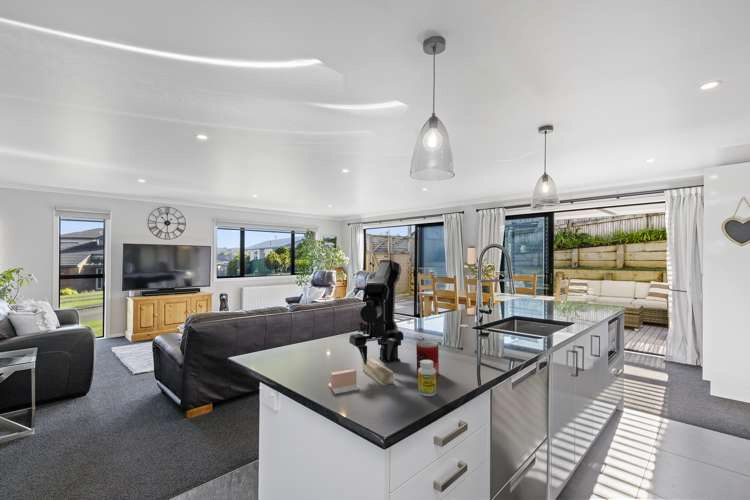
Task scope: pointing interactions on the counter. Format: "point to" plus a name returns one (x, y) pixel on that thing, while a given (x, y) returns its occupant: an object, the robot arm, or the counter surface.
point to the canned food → (428, 353)
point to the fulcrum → (343, 381)
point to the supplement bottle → (426, 378)
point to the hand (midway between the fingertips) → (377, 362)
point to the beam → (378, 372)
